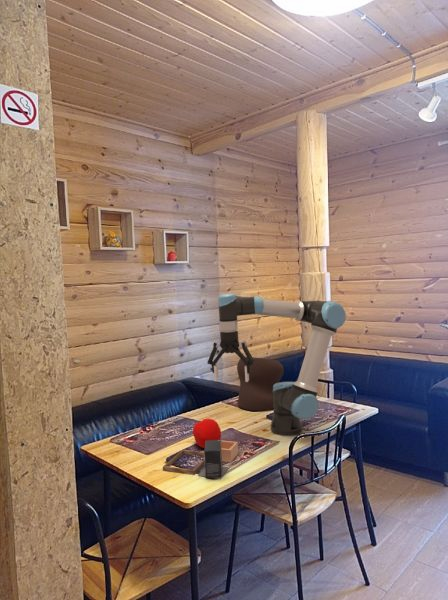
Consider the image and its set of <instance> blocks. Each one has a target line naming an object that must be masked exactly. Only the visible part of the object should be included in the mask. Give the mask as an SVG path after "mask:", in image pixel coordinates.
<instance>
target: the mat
mask: <svg viewBox="0 0 448 600" xmlns="http://www.w3.org/2000/svg"><path fill="white" fill-rule="evenodd" d="M228 470H229V467H226V466H222V477H223V476H224V475H225V474H226V473H227V471H228ZM225 472H226V473H225ZM197 477H203V478H206V475H205V467H203V468H202V470H201V471H200V472H199V473H198V474H197ZM222 477H214V478H213V479H215V480H221V479H222Z"/></svg>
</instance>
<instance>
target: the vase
mask: <svg viewBox="0 0 448 600" xmlns="http://www.w3.org/2000/svg"><path fill="white" fill-rule="evenodd" d="M245 357H246V358H247V356H245ZM252 358H253V359H254V361H255V363H254V364H253V365H251V372H250V374H249V381H248V382H245V366H246V364H245V363H244V362H243V361H242V360H241V359H240V358H239V359H238V362H237V365H236V370H237V375H238V378H239V392H238V399H237V406H238V407H239V408H241V409H242V410H245V411H251V412H264V411H271V410H274V405H273V385H274V384H276V383H280V381H281V379H282V377H283V376H284V373H285V372H284V371H285V369H284V366H283V365H282V363H280V361H278V360H277V359H269V358H260V357H253V356H252ZM247 359H248V358H247ZM248 361H249V360H248Z"/></svg>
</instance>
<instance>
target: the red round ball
mask: <svg viewBox="0 0 448 600" xmlns="http://www.w3.org/2000/svg"><path fill="white" fill-rule="evenodd" d="M192 435H193V438H194V441H195V443H196V444H197V446H198V447H200V448H201V449H205V442H206V441H209V440H221V438H222V431H221V428H220V425H219V424H218V422H217V421H216V420H215V419H211V418H204V419H203V420H201V421H198V422H196V423H195V424H194V426H193V429H192Z"/></svg>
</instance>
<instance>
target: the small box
mask: <svg viewBox="0 0 448 600" xmlns="http://www.w3.org/2000/svg"><path fill="white" fill-rule="evenodd" d="M203 452H204V456H203V457H204V458H203V460H204V459H205V464H204V468H205V475H206V477H205V478H206V479H215V478H214V477H223V476H222V467H223V461H222V453H221V439H220V440H209V441H206V442H205V448H204V451H203Z"/></svg>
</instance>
